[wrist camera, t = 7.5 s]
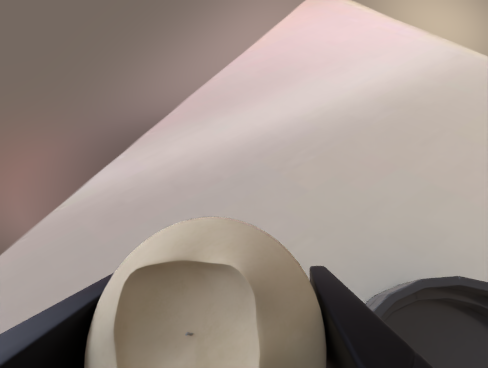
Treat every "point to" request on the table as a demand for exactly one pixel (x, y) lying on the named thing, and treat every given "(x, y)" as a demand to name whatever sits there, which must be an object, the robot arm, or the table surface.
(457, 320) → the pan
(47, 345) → the robot arm
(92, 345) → the candle
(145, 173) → the table surface
